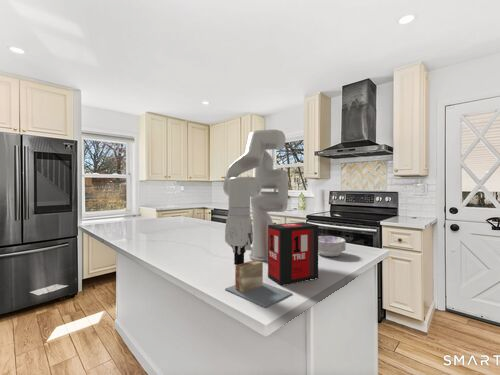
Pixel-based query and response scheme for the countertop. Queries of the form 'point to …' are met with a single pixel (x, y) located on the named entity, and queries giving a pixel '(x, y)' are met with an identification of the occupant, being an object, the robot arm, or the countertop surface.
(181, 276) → the countertop surface
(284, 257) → the cleaning product box
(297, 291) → the countertop surface
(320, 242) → the paper bowls
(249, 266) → the brown block
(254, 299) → the mat
